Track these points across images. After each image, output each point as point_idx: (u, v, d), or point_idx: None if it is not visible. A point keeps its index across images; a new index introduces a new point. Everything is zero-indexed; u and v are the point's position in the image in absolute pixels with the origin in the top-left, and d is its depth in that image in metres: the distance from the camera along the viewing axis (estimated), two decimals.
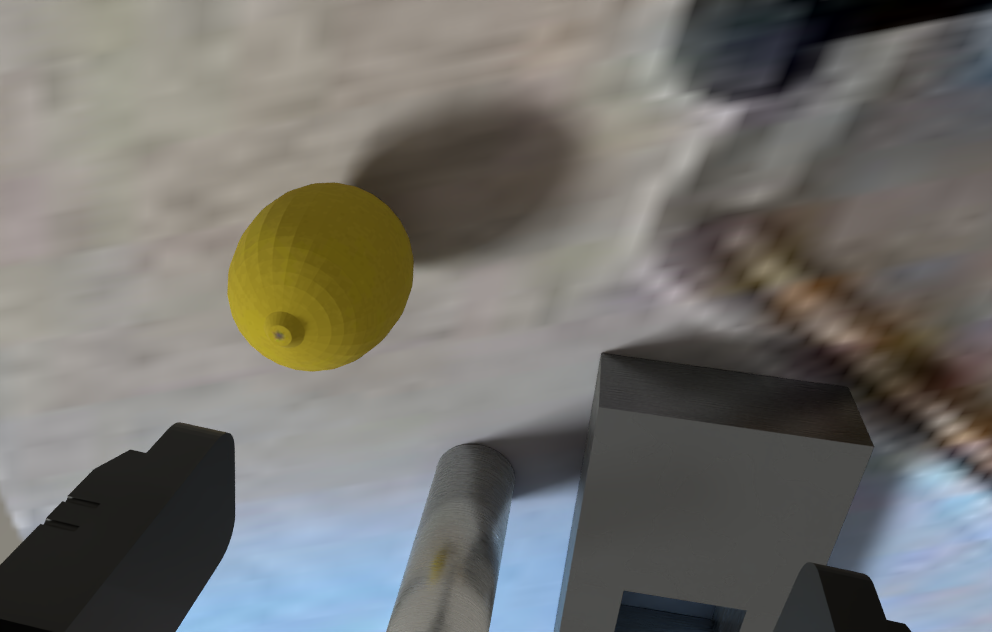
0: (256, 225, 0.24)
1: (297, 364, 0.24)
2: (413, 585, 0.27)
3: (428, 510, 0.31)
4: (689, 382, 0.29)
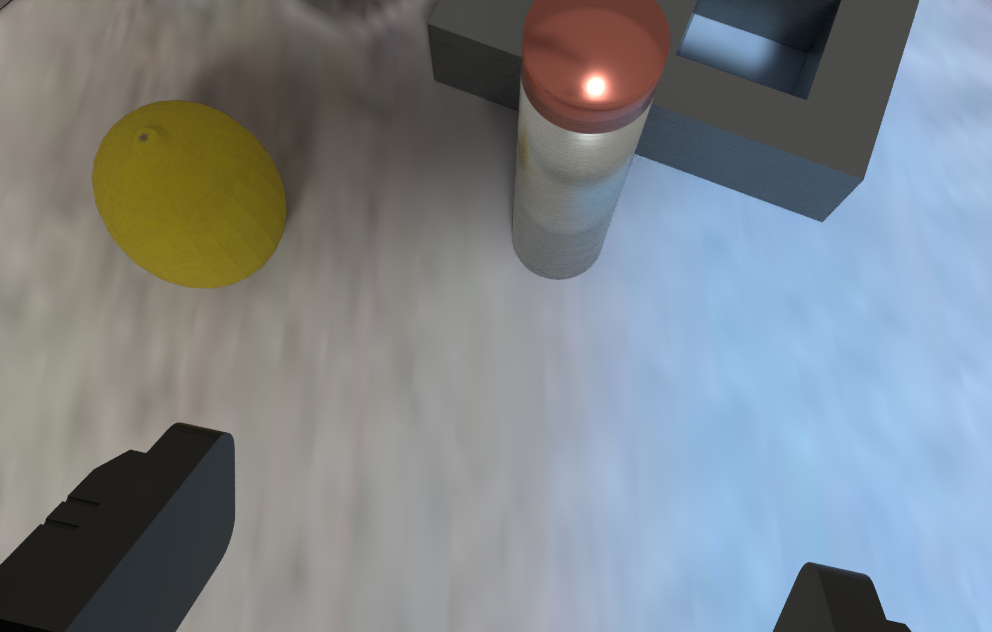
0: None
1: (202, 164, 0.23)
2: (519, 148, 0.23)
3: (521, 219, 0.26)
4: None
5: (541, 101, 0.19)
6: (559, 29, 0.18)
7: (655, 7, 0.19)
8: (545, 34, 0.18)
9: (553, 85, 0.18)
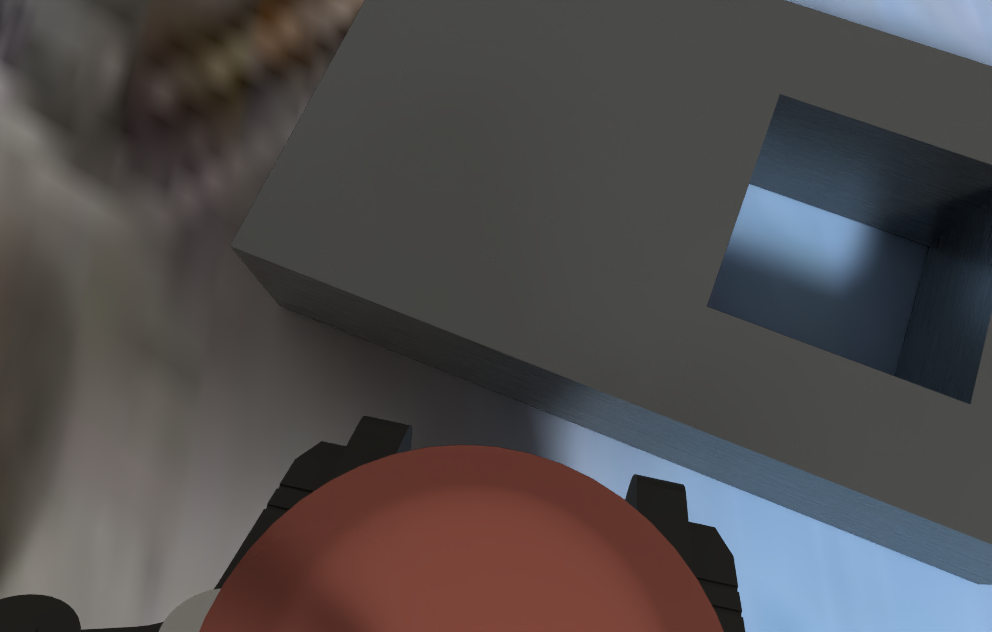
0: None
1: None
2: None
3: None
4: None
5: None
6: None
7: (688, 596, 0.05)
8: None
9: None
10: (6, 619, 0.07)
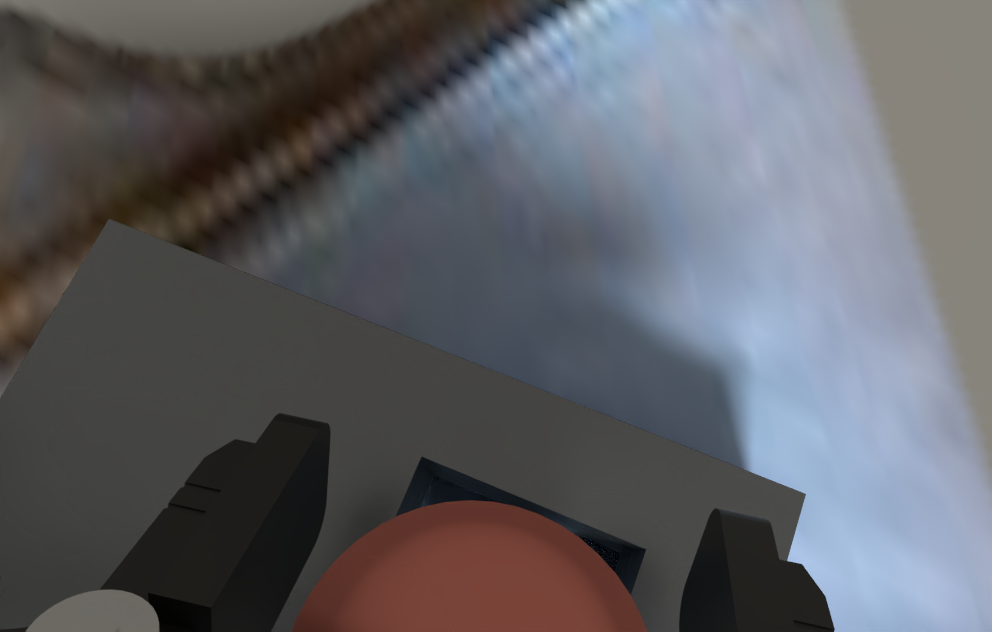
0: None
1: None
2: None
3: None
4: None
5: None
6: None
7: (623, 605, 0.07)
8: None
9: None
10: None
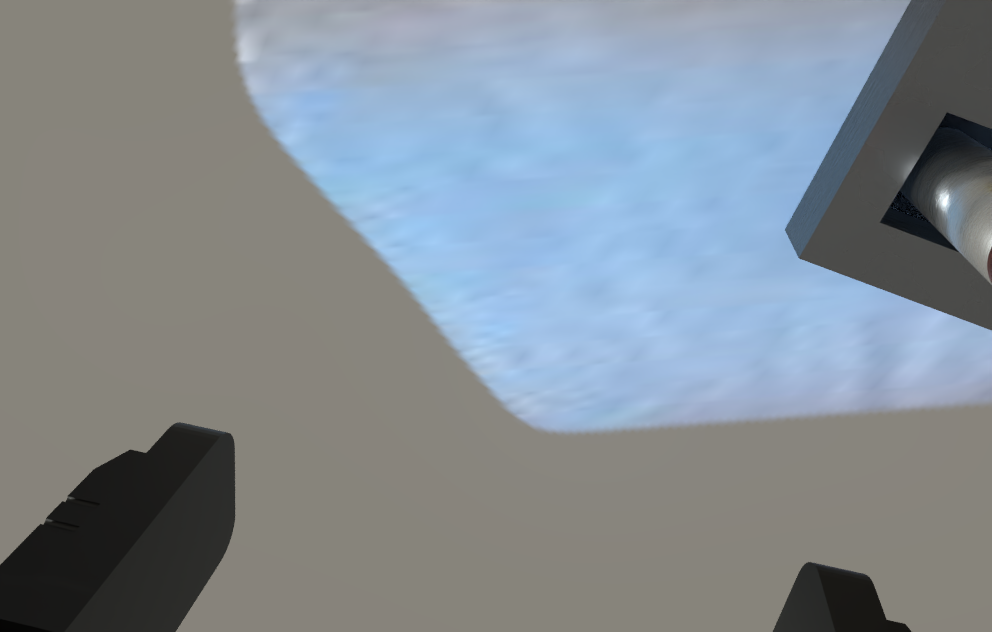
0: None
1: None
2: None
3: (948, 155, 0.31)
4: None
5: None
6: None
7: None
8: None
9: None
10: None
